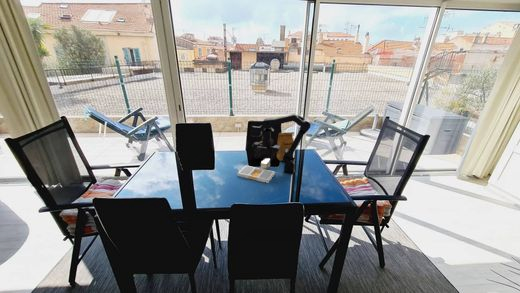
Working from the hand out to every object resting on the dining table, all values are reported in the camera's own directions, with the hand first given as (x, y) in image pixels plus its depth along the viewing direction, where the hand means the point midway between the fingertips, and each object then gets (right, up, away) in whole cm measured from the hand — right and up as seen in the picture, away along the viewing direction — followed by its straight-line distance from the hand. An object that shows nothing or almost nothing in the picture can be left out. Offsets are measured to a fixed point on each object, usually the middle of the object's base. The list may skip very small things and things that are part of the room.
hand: (265, 158), depth 152 cm
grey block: (0, -8, +3) cm, 8 cm away
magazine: (-4, -1, +19) cm, 20 cm away
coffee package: (+15, -2, +18) cm, 23 cm away
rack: (-7, -11, -6) cm, 14 cm away
